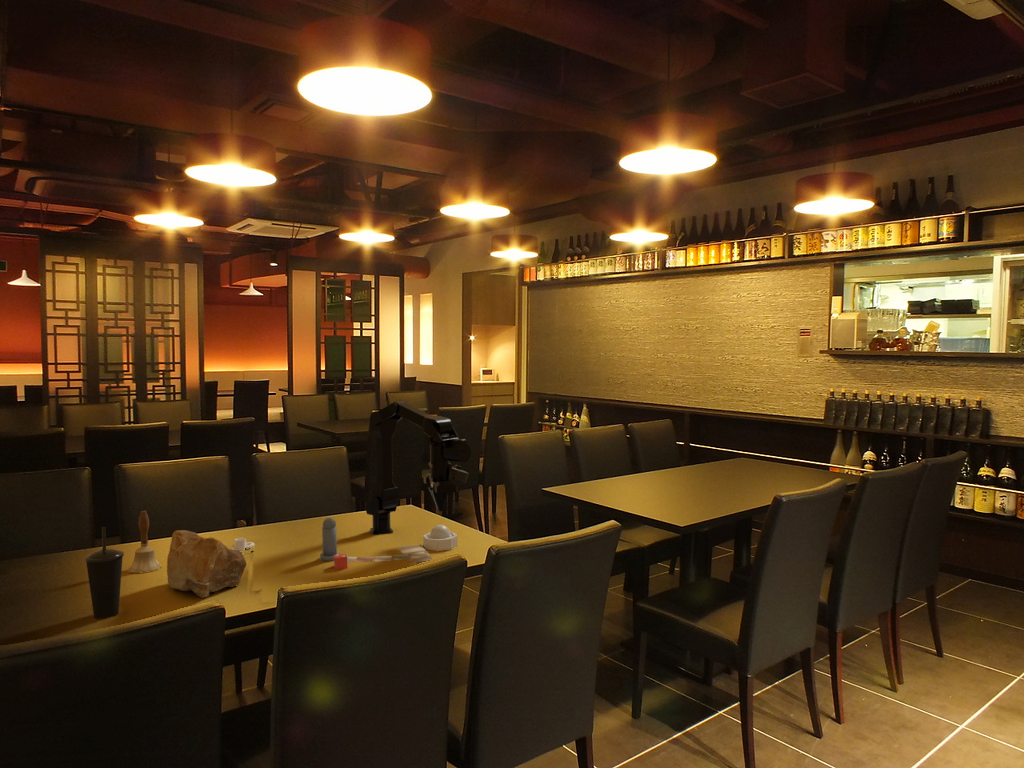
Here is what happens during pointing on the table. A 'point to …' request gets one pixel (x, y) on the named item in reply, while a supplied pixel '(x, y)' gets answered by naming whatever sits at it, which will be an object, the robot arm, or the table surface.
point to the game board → (409, 552)
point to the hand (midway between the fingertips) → (440, 511)
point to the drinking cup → (105, 579)
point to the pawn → (329, 540)
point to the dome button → (440, 532)
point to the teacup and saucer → (242, 544)
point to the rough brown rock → (202, 564)
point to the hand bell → (144, 550)
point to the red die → (340, 561)
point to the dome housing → (440, 542)
